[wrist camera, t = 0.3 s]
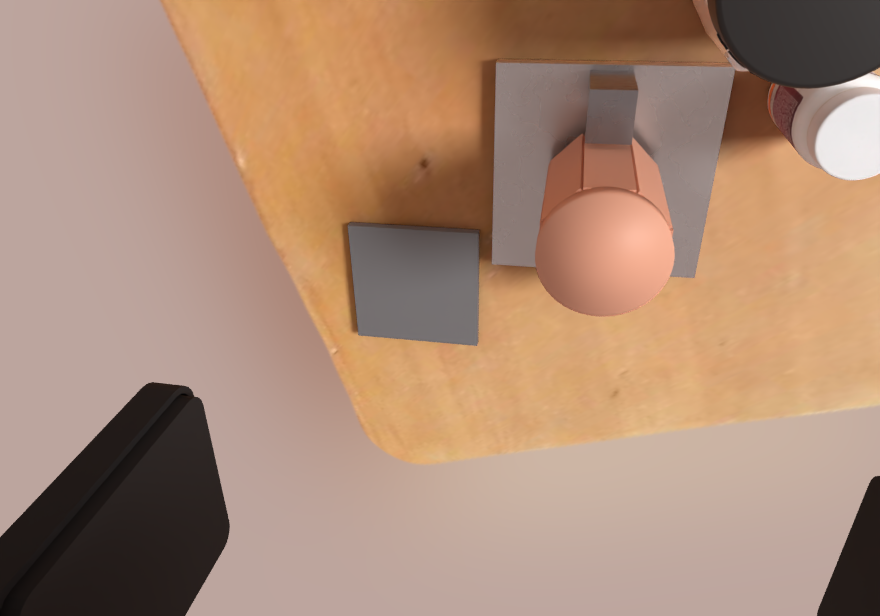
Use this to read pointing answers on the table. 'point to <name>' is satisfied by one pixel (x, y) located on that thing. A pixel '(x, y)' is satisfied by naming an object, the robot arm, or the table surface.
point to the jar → (796, 38)
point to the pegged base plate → (606, 138)
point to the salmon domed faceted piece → (604, 229)
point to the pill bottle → (832, 125)
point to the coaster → (416, 282)
